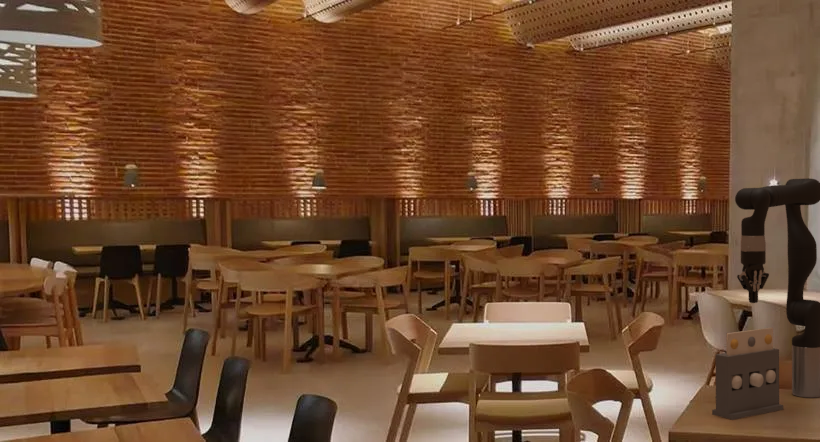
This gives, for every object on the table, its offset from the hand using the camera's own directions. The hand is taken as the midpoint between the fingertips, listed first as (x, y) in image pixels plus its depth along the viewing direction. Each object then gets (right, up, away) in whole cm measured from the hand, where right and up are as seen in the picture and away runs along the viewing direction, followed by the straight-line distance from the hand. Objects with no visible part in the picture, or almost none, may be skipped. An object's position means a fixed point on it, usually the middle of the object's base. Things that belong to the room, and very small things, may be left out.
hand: (753, 302), depth 279 cm
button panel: (-2, -35, -3) cm, 35 cm away
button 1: (-9, -26, -7) cm, 29 cm away
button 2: (+5, -26, +1) cm, 26 cm away
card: (-2, -16, -3) cm, 16 cm away
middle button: (-1, -26, -5) cm, 27 cm away
